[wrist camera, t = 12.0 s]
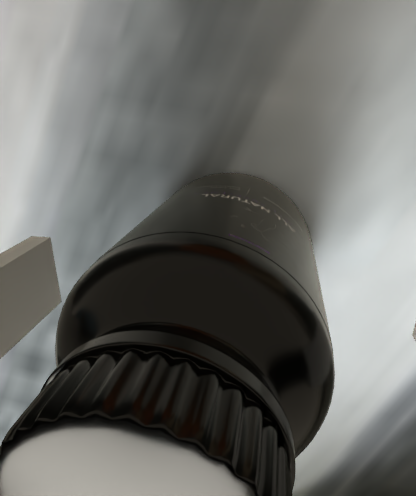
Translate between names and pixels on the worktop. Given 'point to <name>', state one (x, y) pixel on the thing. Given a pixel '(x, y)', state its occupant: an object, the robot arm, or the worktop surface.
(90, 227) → the worktop surface
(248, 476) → the supplement bottle
